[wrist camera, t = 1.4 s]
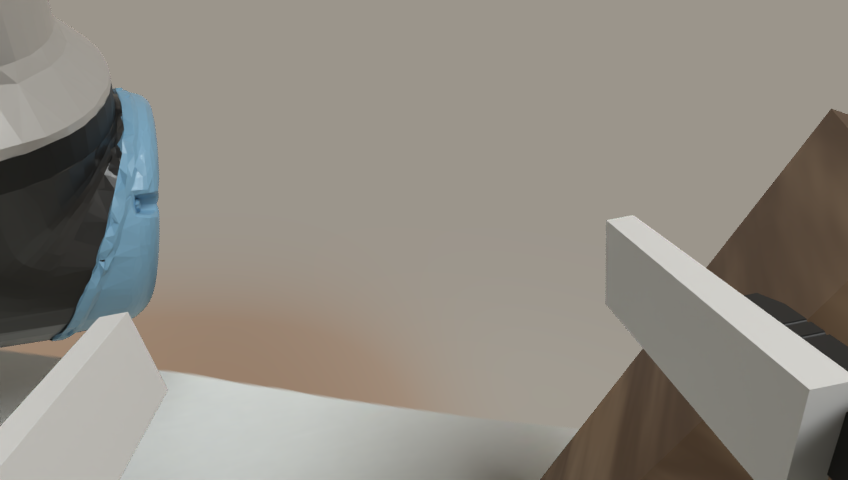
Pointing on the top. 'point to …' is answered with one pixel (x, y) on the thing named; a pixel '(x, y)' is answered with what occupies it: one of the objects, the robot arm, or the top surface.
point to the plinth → (747, 273)
